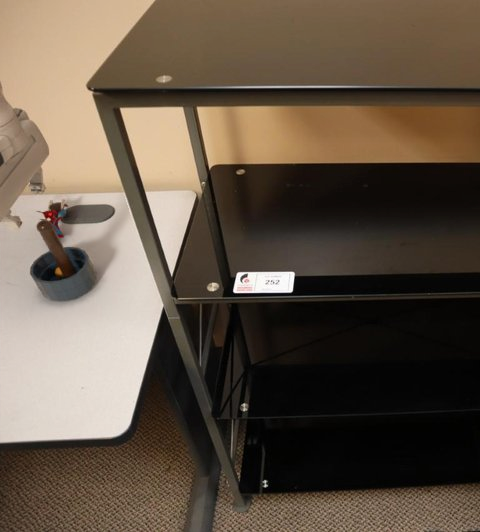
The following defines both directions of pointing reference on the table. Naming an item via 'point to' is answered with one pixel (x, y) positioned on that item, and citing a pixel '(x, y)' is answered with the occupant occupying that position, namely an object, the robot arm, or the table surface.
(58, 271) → the bead
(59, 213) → the hoverbike
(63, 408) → the table surface
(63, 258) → the stick
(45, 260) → the bowl
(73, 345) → the table surface
